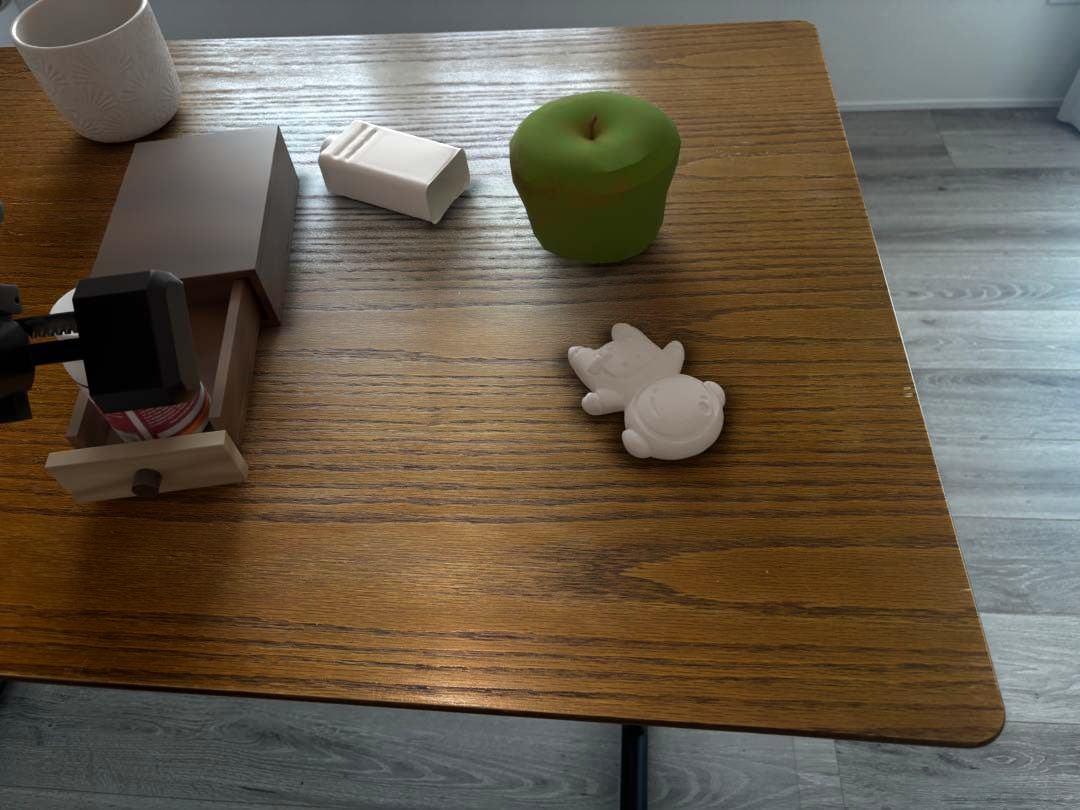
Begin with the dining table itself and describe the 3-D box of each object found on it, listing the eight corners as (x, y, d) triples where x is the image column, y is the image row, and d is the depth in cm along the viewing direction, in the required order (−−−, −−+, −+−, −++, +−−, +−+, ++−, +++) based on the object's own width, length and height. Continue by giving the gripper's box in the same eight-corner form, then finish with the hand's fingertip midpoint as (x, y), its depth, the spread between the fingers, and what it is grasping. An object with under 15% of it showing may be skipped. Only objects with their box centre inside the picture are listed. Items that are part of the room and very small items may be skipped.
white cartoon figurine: (650, 318, 63) (651, 288, 60) (750, 429, 56) (755, 400, 53) (547, 366, 60) (544, 337, 58) (637, 487, 54) (638, 460, 51)
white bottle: (355, 151, 79) (343, 111, 76) (472, 183, 74) (465, 142, 71) (313, 192, 76) (298, 152, 72) (433, 228, 71) (423, 187, 68)
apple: (661, 181, 72) (666, 58, 64) (685, 279, 65) (695, 154, 56) (517, 197, 73) (502, 76, 64) (524, 295, 65) (508, 174, 56)
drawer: (245, 497, 54) (220, 460, 51) (73, 519, 54) (38, 484, 51) (273, 297, 66) (254, 257, 63) (131, 316, 66) (105, 276, 63)
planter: (76, 170, 81) (10, 64, 72) (66, 107, 88) (6, 4, 79) (203, 131, 83) (155, 23, 75) (183, 73, 90) (137, -31, 82)
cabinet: (281, 325, 65) (255, 269, 61) (122, 346, 65) (84, 291, 61) (299, 181, 77) (278, 124, 72) (164, 198, 77) (135, 142, 72)
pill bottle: (217, 378, 60) (148, 262, 51) (213, 447, 56) (137, 334, 47) (129, 396, 59) (44, 282, 51) (118, 467, 56) (25, 356, 47)
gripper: (65, 122, 31) (220, 187, 46) (-438, 187, 31) (-115, 231, 46) (119, 420, 32) (253, 387, 48) (-365, 483, 32) (-74, 429, 48)
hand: (80, 354), depth 47 cm, fingers open, 9 cm apart
